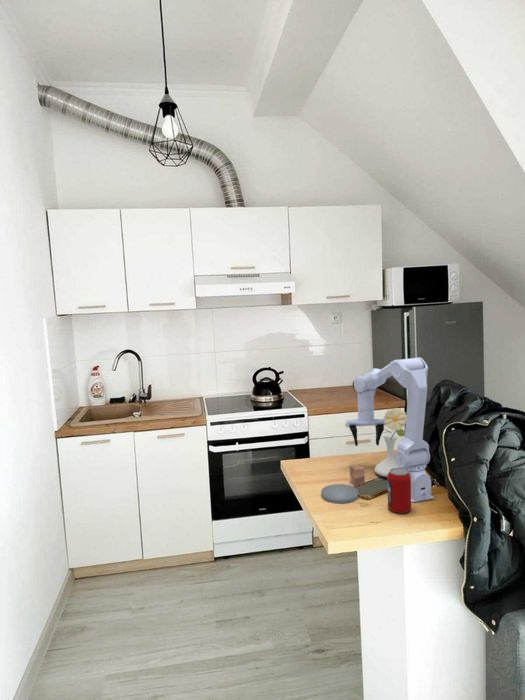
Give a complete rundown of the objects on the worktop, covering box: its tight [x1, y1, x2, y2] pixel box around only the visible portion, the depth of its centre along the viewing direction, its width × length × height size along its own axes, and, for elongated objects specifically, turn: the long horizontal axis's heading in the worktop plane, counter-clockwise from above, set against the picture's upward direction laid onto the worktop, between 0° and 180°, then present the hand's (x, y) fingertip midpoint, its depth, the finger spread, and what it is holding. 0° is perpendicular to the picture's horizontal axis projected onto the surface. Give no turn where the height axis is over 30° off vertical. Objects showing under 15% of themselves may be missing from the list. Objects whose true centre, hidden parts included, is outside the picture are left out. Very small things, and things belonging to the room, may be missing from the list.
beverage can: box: [386, 468, 412, 514], centre depth 143 cm, size 7×7×12 cm
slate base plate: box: [320, 483, 360, 504], centre depth 155 cm, size 12×12×2 cm
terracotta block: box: [349, 464, 366, 487], centre depth 164 cm, size 4×4×6 cm
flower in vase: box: [374, 407, 407, 478], centre depth 169 cm, size 13×11×25 cm
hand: (366, 444), depth 176 cm, fingers open, 7 cm apart
